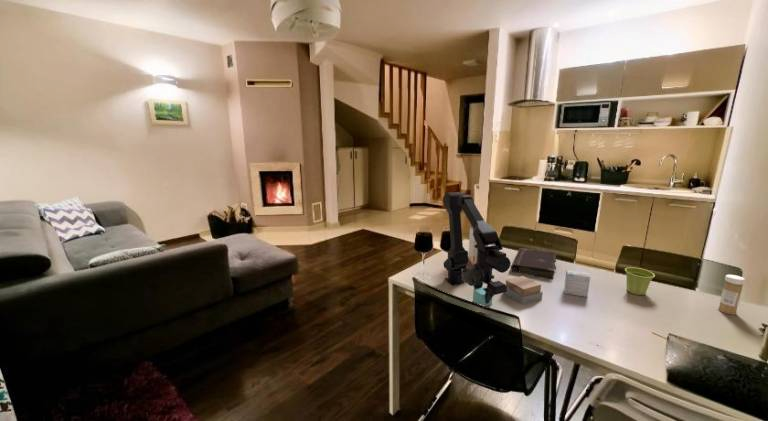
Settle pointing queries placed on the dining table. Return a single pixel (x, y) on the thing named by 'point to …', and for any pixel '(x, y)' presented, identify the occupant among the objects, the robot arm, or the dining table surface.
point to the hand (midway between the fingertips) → (482, 300)
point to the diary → (535, 262)
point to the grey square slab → (524, 298)
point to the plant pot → (638, 280)
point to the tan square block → (523, 286)
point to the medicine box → (577, 283)
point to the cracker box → (472, 248)
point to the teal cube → (480, 296)
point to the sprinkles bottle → (731, 294)
